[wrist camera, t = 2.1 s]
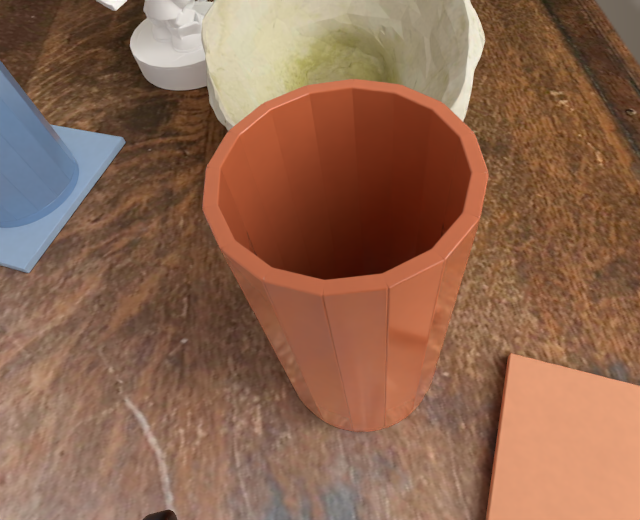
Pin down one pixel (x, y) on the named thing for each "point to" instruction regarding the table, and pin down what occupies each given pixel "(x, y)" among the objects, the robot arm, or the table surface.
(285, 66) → the bowl
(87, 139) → the blue mat
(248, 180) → the terracotta cup
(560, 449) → the peach mat
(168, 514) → the robot arm
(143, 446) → the table surface
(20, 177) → the blue cup
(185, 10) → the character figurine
